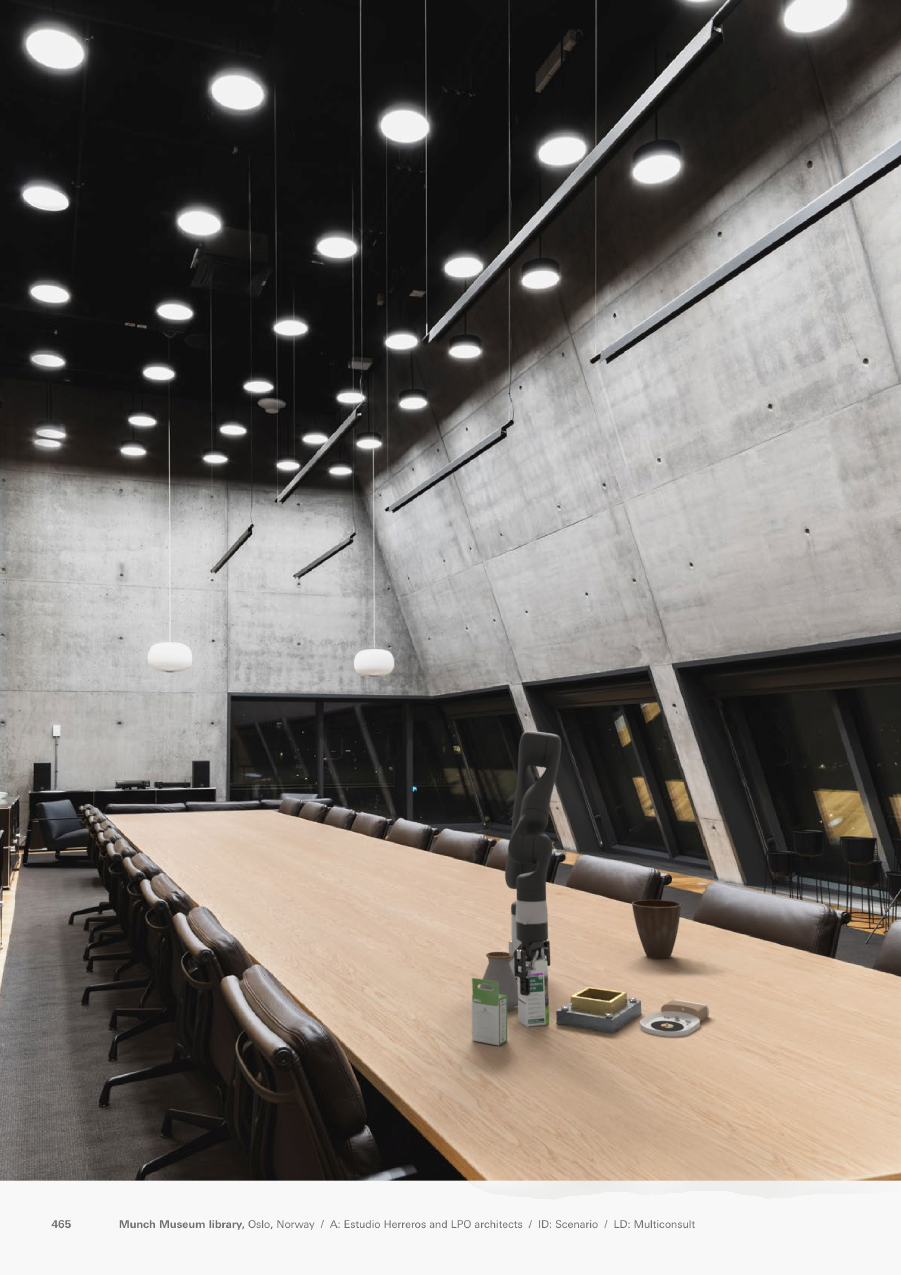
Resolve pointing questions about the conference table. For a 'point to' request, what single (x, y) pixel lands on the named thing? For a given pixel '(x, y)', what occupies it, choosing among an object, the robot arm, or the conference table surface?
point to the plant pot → (657, 926)
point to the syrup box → (535, 996)
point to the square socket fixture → (599, 1010)
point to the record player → (675, 1018)
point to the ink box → (488, 1013)
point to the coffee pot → (502, 976)
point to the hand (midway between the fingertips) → (533, 991)
